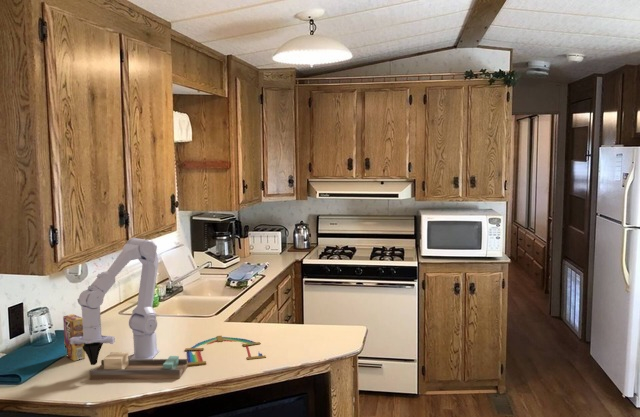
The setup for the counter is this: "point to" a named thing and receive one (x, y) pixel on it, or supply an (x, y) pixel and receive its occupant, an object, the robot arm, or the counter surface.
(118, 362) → the beige box
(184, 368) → the guide track
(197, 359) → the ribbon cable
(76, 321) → the candy box
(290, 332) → the counter surface
